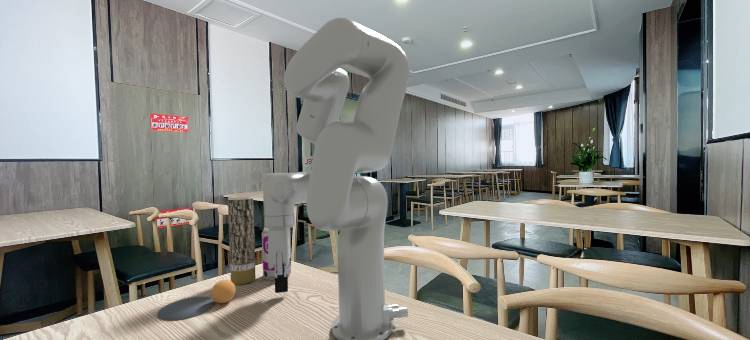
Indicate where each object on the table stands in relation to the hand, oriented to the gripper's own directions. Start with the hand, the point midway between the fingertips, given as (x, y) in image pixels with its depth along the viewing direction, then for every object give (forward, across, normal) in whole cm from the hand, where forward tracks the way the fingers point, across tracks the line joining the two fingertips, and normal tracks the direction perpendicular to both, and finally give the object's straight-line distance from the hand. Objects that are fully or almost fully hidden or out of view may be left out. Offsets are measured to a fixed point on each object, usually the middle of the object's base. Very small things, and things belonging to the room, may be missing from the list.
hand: (281, 291), depth 82 cm
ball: (-1, -1, -14) cm, 14 cm away
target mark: (+2, 0, -22) cm, 22 cm away
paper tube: (+2, -14, -12) cm, 19 cm away
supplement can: (+2, -16, -2) cm, 16 cm away
